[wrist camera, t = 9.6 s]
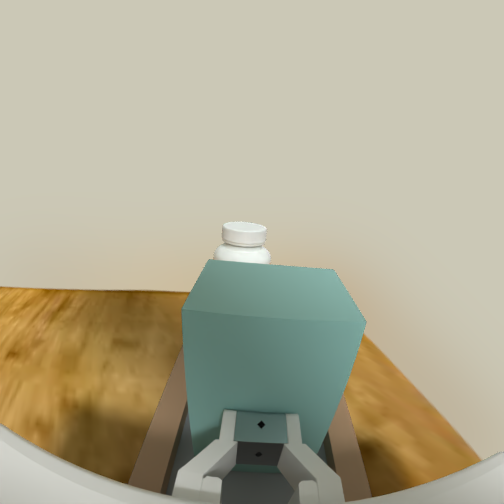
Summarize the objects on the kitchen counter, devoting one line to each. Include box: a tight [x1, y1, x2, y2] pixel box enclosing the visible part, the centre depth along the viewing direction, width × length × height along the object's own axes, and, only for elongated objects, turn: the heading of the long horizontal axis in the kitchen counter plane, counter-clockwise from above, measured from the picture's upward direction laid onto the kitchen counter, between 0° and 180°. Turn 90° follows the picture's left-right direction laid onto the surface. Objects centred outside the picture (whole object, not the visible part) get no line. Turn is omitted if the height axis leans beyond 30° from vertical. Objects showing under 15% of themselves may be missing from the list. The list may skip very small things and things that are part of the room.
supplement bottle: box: [213, 222, 271, 264], centre depth 27 cm, size 5×5×10 cm
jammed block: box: [182, 259, 366, 473], centre depth 13 cm, size 6×5×10 cm
